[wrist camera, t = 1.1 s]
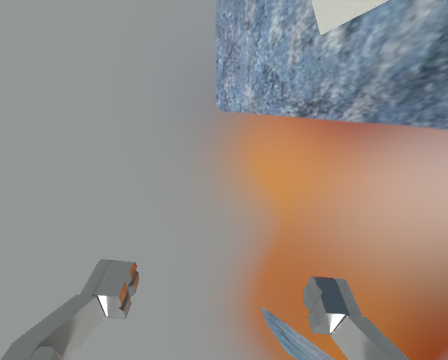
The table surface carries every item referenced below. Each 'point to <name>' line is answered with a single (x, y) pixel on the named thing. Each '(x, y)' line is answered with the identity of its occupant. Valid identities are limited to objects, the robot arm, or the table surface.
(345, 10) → the mat
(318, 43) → the table surface
